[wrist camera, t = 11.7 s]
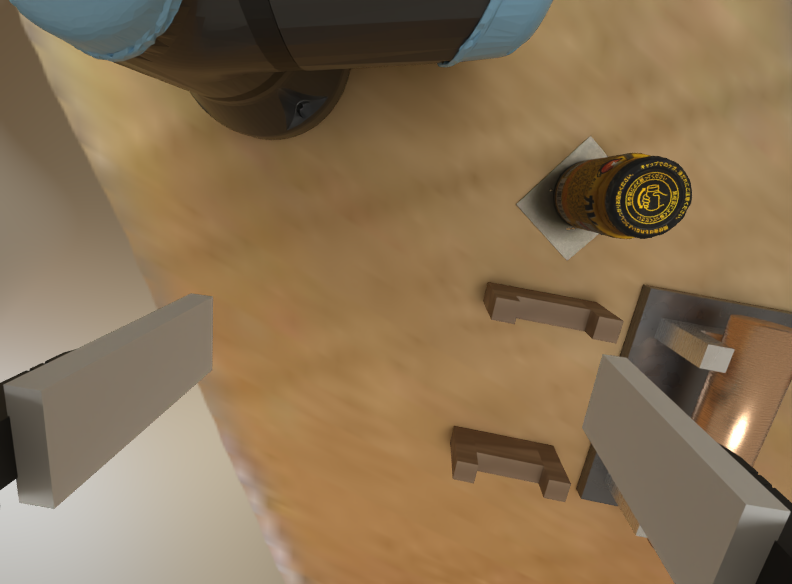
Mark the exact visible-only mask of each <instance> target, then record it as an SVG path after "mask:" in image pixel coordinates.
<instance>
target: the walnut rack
mask: <svg viewBox="0 0 792 584" xmlns="http://www.w3.org/2000/svg"><path fill="white" fill-rule="evenodd" d="M483 302H484V304H485V306H486V309H487V311H488V313H489V315H490V318H491V320H496V321H501V322H507V323H512V324H515V321H516V318H518V319H523V320H528V321H533V322H539V323H544V324H549V325H554V326H560V327H565V328H570V329H575V330H581V331H585V332H586V333H587V334H588V335H589V336H590V337H591V338H592V339H596V340H601V341H606V342H611V343H617V340H618V337H619V334H620V331H621V328H622V325H623V322H624V321H623V320H621V319H620V318H618V317H617V316H616V315H614V314H613V313H611V312H610V311H608V310H607V309H605V308H604V307H603V306H601V305H600V304H598V303H597V302H592V301H587V300H581V299H576V298H571V297H565V296H560V295H555V294H549V293H544V292H539V291H533V290H528V289H523V288H517V287H512V286H507V285H501V284H496V283H491V282H488V283H487V288H486V292H485V296H484V300H483ZM450 445H451V459H452V474H453V479H455V480H460V481H465V482H470V483H474V481H475V477H476V473H477V471H481V472H485V473H490V474H495V475H500V476H505V477H510V478H515V479H520V480H524V481H529V482H534V483H539V486H540V489H541V491H542V494H543V497H544V498H547V499H552V500H557V501H562V502H565V501H566V498H567V495H568V492H569V489H570V486H571V483H570V481H569V479H568V477H567V474H566V472H565V470H564V468H563V466H562V464H561V462H560V459H559V457H558V455H557V453H556V451H555V449H554V447H553V446H551V445H546V444H541V443H536V442H531V441H526V440H521V439H516V438H511V437H506V436H501V435H496V434H491V433H486V432H481V431H476V430H472V429H467V428H462V427H457V426H454V429H453V433H452V437H451V442H450Z"/></svg>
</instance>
